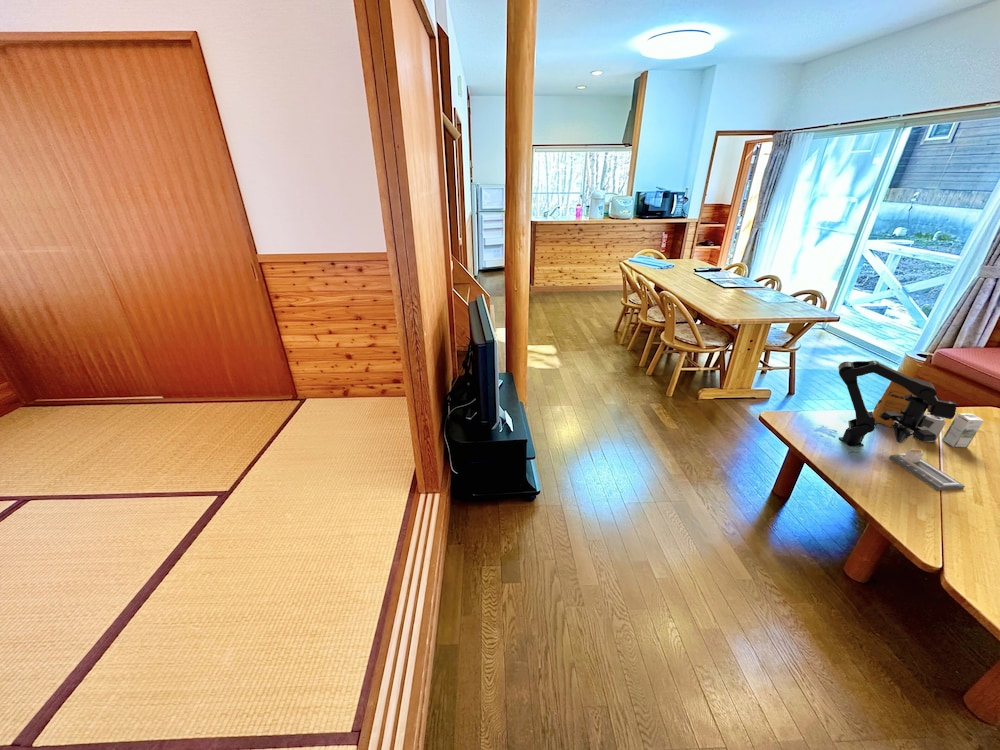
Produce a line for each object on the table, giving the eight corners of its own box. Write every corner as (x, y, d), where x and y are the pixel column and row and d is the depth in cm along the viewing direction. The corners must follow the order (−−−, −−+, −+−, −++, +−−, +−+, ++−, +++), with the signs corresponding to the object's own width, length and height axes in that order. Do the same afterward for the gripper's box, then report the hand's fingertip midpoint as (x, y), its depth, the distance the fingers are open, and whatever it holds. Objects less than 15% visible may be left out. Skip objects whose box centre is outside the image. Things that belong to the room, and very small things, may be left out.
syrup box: (955, 440, 178) (971, 412, 172) (968, 448, 173) (984, 420, 167) (941, 439, 179) (956, 412, 172) (953, 447, 174) (969, 419, 167)
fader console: (937, 490, 151) (940, 485, 150) (889, 457, 169) (891, 453, 168) (963, 489, 151) (966, 484, 150) (912, 456, 169) (914, 452, 168)
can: (939, 444, 176) (952, 421, 171) (919, 442, 178) (931, 420, 172) (927, 434, 183) (938, 412, 178) (908, 433, 184) (919, 411, 179)
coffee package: (872, 413, 200) (889, 374, 190) (905, 423, 191) (925, 383, 182) (868, 421, 194) (885, 381, 185) (902, 431, 186) (922, 390, 176)
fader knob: (910, 462, 163) (915, 452, 161) (903, 458, 166) (908, 448, 164) (919, 462, 163) (924, 452, 161) (912, 457, 166) (917, 448, 164)
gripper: (958, 422, 154) (939, 455, 161) (911, 399, 171) (896, 429, 178) (930, 424, 154) (913, 456, 161) (886, 400, 171) (872, 430, 178)
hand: (898, 442), depth 169 cm, fingers closed
